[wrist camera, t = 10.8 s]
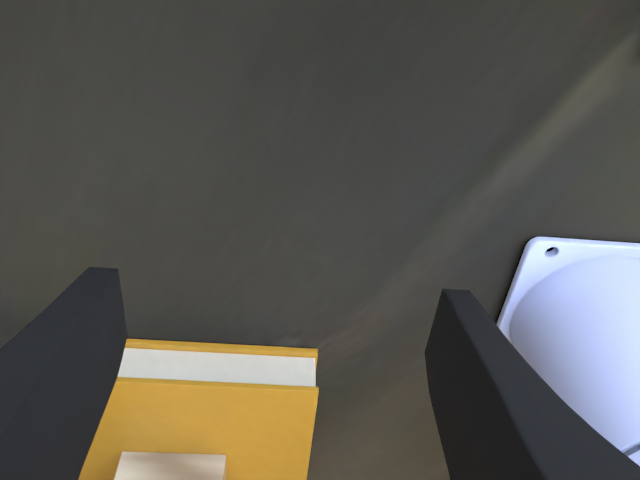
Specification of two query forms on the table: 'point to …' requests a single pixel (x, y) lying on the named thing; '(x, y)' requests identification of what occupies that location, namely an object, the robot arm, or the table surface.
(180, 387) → the book
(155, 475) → the die
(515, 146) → the table surface
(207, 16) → the table surface
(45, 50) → the table surface
